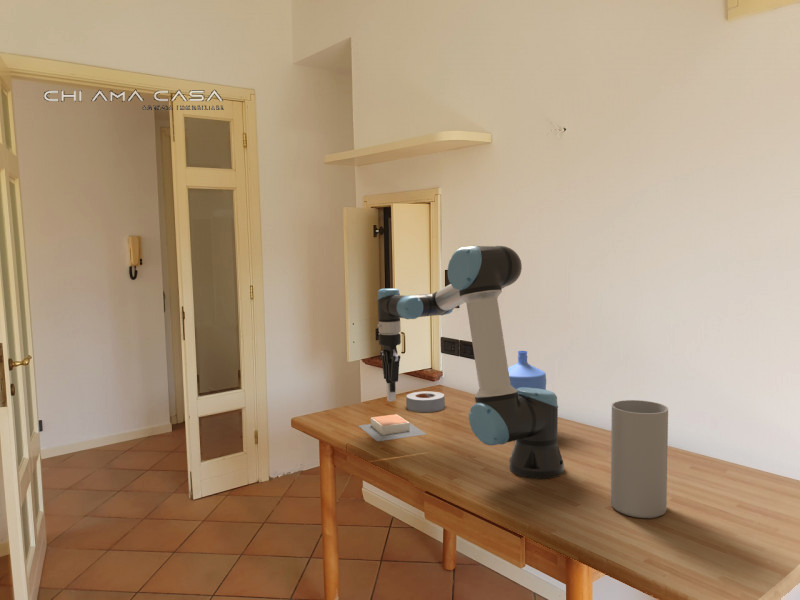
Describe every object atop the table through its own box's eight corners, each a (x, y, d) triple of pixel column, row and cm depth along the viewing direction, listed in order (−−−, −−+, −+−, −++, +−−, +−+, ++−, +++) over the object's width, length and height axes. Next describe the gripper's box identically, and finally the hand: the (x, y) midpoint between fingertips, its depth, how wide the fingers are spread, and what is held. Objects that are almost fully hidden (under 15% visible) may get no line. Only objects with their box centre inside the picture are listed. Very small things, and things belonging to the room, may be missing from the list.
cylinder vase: (637, 523, 139) (639, 416, 137) (599, 503, 150) (600, 403, 148) (678, 513, 144) (680, 409, 142) (638, 494, 155) (639, 397, 153)
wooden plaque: (409, 422, 211) (396, 413, 222) (382, 425, 207) (370, 417, 218) (409, 431, 211) (396, 422, 222) (382, 435, 207) (370, 425, 218)
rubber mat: (427, 435, 207) (427, 434, 207) (377, 442, 201) (377, 441, 201) (404, 420, 226) (404, 419, 226) (358, 426, 219) (358, 425, 219)
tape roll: (398, 407, 245) (398, 395, 245) (426, 401, 255) (426, 389, 255) (424, 415, 234) (424, 402, 233) (452, 407, 243) (452, 395, 243)
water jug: (544, 441, 199) (544, 356, 196) (496, 437, 204) (495, 354, 202) (548, 427, 214) (548, 348, 211) (503, 424, 219) (503, 347, 216)
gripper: (373, 332, 215) (375, 398, 217) (386, 336, 203) (388, 406, 205) (392, 330, 218) (394, 395, 219) (406, 334, 206) (408, 403, 207)
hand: (391, 400), depth 212 cm, fingers closed
